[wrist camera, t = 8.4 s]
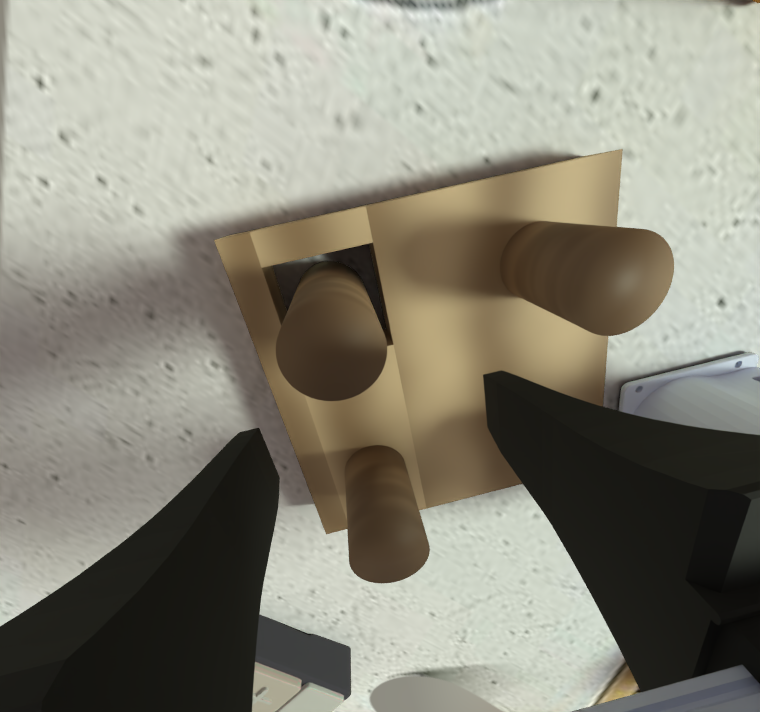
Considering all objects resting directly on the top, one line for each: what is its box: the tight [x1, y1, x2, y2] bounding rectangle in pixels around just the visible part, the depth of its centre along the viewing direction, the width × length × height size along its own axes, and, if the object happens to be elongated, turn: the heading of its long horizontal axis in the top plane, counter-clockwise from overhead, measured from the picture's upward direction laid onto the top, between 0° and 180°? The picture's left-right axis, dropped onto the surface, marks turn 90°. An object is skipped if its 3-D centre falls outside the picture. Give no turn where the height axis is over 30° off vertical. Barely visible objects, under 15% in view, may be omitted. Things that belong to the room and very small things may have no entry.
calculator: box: [252, 615, 351, 712], centre depth 29 cm, size 11×4×15 cm
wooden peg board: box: [214, 149, 674, 583], centre depth 17 cm, size 18×18×8 cm
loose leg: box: [276, 261, 387, 401], centre depth 15 cm, size 4×4×8 cm
